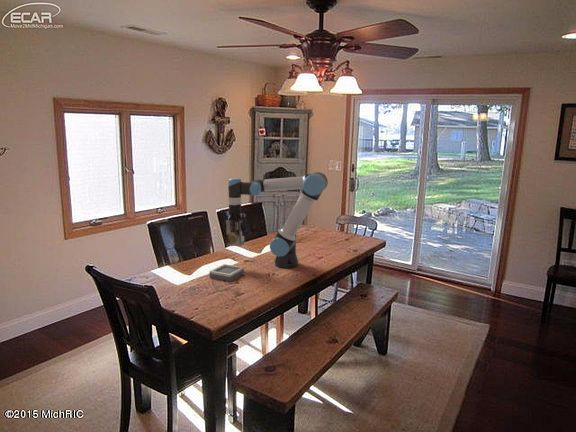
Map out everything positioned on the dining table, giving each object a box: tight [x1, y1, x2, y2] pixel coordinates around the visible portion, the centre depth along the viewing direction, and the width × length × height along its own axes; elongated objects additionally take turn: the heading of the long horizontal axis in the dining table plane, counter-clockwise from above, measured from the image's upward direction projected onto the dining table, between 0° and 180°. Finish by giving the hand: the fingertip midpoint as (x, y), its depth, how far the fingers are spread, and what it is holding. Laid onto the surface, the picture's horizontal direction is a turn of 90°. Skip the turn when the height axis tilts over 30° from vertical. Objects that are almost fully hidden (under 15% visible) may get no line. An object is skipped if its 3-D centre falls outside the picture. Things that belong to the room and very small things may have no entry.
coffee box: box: [226, 218, 245, 247], centre depth 254 cm, size 9×6×16 cm
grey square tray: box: [209, 263, 245, 282], centre depth 242 cm, size 14×15×4 cm
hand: (235, 239), depth 255 cm, fingers closed on coffee box, 9 cm apart
